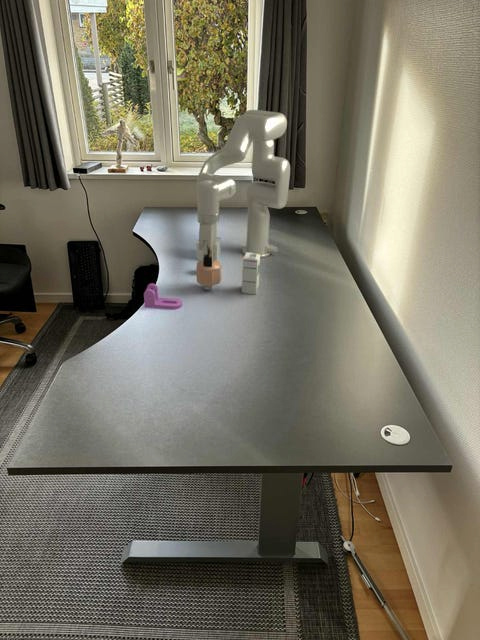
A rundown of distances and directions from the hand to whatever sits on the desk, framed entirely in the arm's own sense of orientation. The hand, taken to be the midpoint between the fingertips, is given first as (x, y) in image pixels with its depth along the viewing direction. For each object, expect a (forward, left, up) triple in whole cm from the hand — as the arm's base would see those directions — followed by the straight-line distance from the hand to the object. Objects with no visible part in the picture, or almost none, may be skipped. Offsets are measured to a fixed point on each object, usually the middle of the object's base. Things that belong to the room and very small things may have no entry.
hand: (208, 263), depth 182 cm
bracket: (+13, +16, -11) cm, 23 cm away
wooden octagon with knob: (0, 0, -7) cm, 7 cm away
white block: (+6, -29, -11) cm, 32 cm away
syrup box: (-16, -2, -11) cm, 19 cm away
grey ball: (0, +1, -9) cm, 9 cm away
